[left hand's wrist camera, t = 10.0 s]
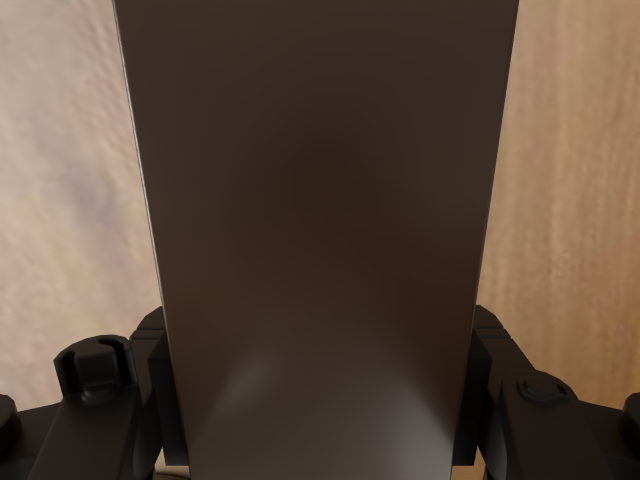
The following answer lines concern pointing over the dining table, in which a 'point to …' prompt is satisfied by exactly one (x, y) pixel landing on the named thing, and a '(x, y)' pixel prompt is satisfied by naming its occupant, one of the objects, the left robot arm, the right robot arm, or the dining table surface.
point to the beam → (317, 222)
